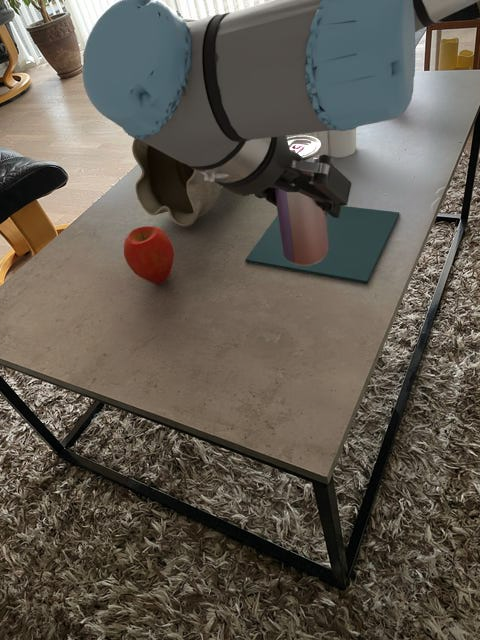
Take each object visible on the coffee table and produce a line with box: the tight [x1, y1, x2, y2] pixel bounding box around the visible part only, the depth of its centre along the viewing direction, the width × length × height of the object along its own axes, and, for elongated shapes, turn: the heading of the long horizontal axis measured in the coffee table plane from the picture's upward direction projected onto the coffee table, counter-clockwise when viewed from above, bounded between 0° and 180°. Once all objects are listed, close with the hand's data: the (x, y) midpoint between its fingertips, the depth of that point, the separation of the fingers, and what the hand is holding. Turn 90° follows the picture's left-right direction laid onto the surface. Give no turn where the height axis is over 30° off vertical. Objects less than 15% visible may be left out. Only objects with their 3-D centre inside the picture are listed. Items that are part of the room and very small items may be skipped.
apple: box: [123, 226, 175, 285], centre depth 84 cm, size 9×8×11 cm
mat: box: [244, 205, 400, 285], centre depth 88 cm, size 22×20×1 cm
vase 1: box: [131, 138, 222, 227], centre depth 100 cm, size 22×22×28 cm
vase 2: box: [306, 128, 357, 159], centre depth 104 cm, size 11×7×20 cm, turn 71°
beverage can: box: [275, 135, 329, 266], centre depth 60 cm, size 6×6×15 cm
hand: (312, 204), depth 63 cm, fingers closed on beverage can, 6 cm apart
